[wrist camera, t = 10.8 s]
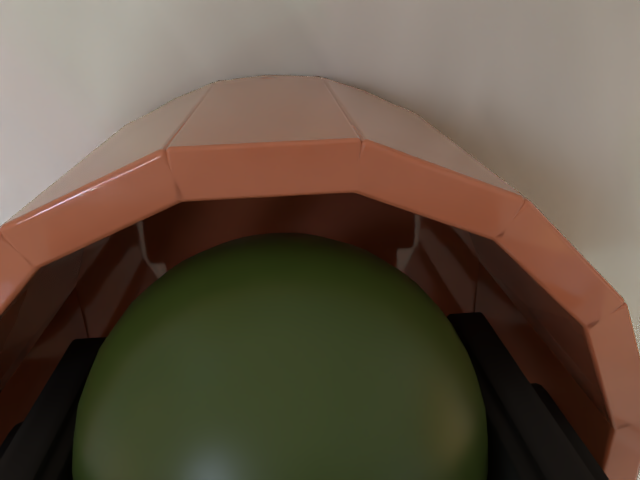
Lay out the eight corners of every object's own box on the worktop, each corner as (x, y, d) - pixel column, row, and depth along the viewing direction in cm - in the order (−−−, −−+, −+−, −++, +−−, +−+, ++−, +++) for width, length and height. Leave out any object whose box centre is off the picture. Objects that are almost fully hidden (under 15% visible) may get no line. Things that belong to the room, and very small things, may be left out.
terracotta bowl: (11, 85, 11) (-264, 168, 5) (514, 64, 11) (737, 120, 6) (107, 470, 15) (9, 743, 9) (474, 440, 15) (584, 681, 10)
